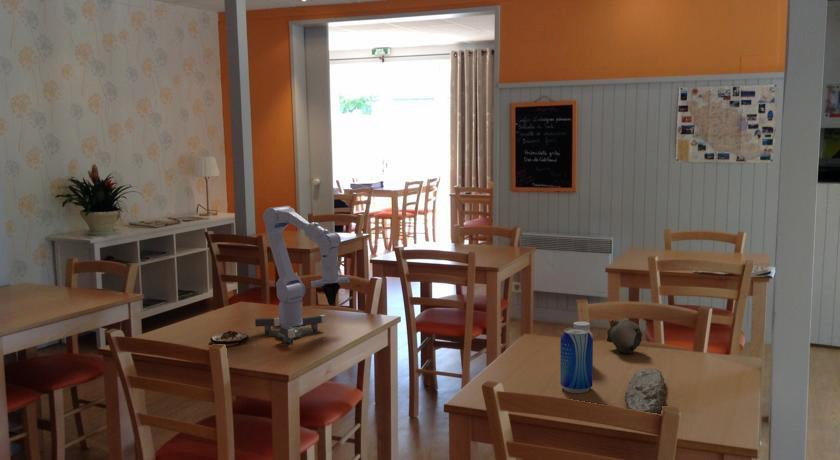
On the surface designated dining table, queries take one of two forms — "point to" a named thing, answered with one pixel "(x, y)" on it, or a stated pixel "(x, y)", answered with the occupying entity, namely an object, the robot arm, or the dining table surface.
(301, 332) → the levelling base
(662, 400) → the elongated rock
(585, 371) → the beer can
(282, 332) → the two-tone rectangular bar
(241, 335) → the cream topped cake
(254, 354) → the dining table surface
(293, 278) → the robot arm
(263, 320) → the footscrew rear
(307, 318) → the post
